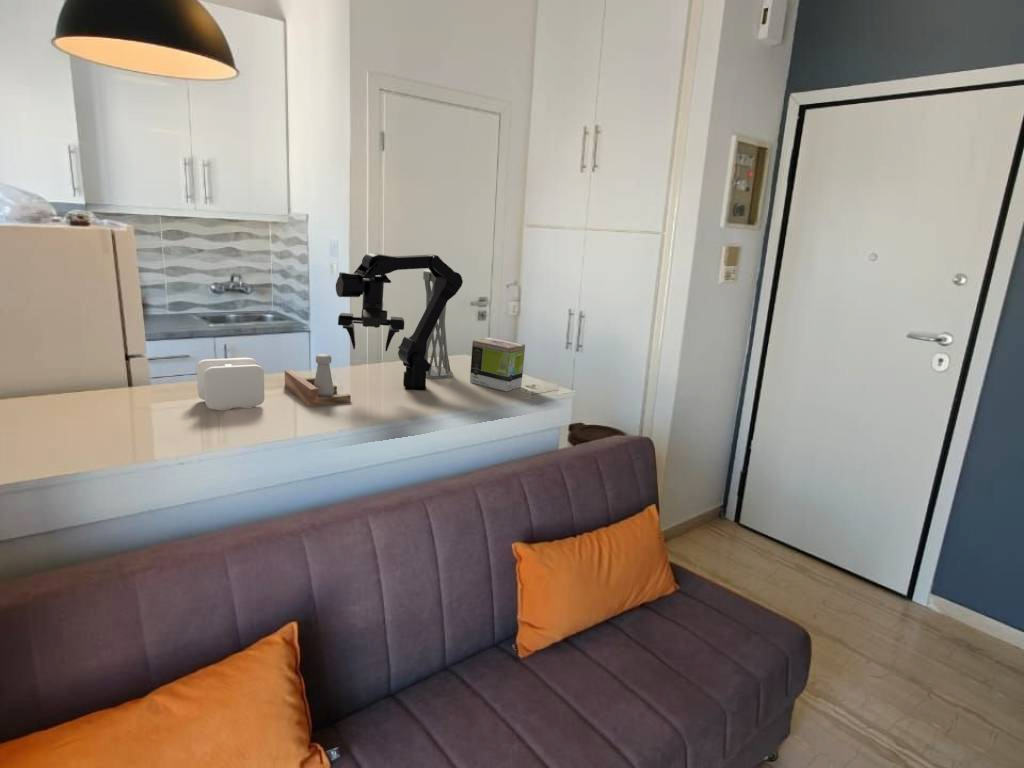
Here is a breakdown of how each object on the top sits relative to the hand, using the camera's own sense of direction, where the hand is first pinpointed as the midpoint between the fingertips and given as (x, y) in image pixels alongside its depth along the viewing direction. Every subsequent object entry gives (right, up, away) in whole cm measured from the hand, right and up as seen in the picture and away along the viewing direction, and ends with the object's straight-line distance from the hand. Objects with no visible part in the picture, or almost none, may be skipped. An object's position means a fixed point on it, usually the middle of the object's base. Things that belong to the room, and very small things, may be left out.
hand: (370, 350), depth 182 cm
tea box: (+37, -11, +24) cm, 45 cm away
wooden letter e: (-15, -13, -3) cm, 20 cm away
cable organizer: (-33, -16, -17) cm, 41 cm away
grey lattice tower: (+14, -6, +31) cm, 34 cm away
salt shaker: (-12, -15, -7) cm, 20 cm away
